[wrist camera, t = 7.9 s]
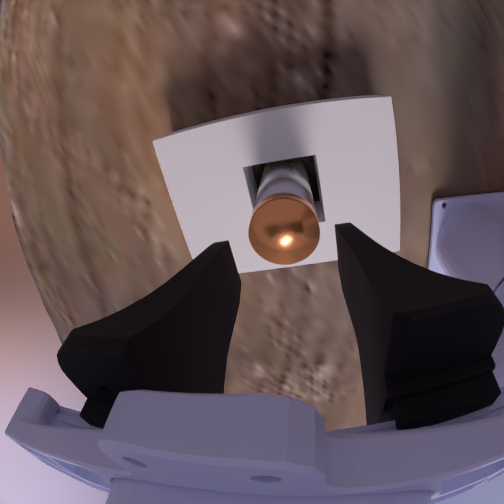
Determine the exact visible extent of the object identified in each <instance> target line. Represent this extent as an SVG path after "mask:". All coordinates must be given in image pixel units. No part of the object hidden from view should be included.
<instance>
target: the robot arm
mask: <svg viewBox="0 0 504 504" xmlns="http://www.w3.org/2000/svg"><path fill="white" fill-rule="evenodd" d="M444 202H445V205H444V206H443V207H442V204H443V203H444ZM335 235H336V245H337V256H338V269H339V274H340V280H341V285H342V291H343V294H344V297H345V300H346V304H347V307H348V310H349V314H350V317H351V320H352V324H353V327H354V330H355V334H356V338H357V343H358V348H359V355H360V362H361V369H362V377H363V385H364V395H365V406H366V420H367V425H366V426H360V427H353V428H346V429H338V430H329V431H325V424H324V418H323V417H322V415H321V414H320V413H319V412H318V410H317V409H316V408H315V407H314V406H313V405H311V404H309V403H306V402H304V401H301V400H298V399H295V398H292V397H290V396H286V395H272V394H260V393H250V394H223V393H224V381H225V371H226V362H227V355H228V350H229V345H230V341H231V337H232V333H233V328H234V324H235V320H236V316H237V312H238V307H239V303H240V292H241V280H240V277H239V273H238V270H237V267H236V263H235V260H234V257H233V253H232V250H231V247H230V243H229V240H227V241H221V242H215V243H213V244H211V245H210V246H208V247H207V248H206V249H205V250H204V251H202V252H201V253H200V254H199V255H198V256H197V257H196V258H195V259H193V260H192V261H191V262H190V263H189V264H188V265H187V266H185V267H184V268H183V269H182V270H181V271H179V272H178V273H177V274H176V275H174V276H173V277H172V278H171V279H170V280H168V281H167V282H166V283H164V284H163V285H162V286H160V287H159V288H157V289H156V290H155V291H153V292H152V293H150V294H149V295H147V296H145V297H144V298H142V299H140V300H138V301H137V302H135V303H133V304H131V305H130V306H128V307H126V308H124V309H122V310H120V311H118V312H116V313H114V314H112V315H110V316H107V317H105V318H103V319H100V320H98V321H95V322H92V323H90V324H87V325H84V326H81V327H78V328H75V329H73V330H72V331H71V332H70V334H69V335H68V337H67V338H66V340H65V341H64V343H63V344H62V346H61V348H60V349H59V351H58V353H57V358H58V363H59V365H60V367H61V369H62V370H63V372H64V373H65V374H66V376H67V377H68V378H69V379H70V380H71V381H72V382H73V384H74V385H75V386H76V387H77V388H78V389H79V390H80V391H81V392H82V393H83V394H84V395H85V396H86V397H87V400H86V402H85V405H84V407H83V409H82V411H81V412H79V411H76V410H72V409H69V408H65V407H62V406H59V404H58V403H57V402H56V401H55V400H54V399H53V398H52V397H51V396H50V395H48V394H47V393H45V392H43V391H40V390H37V389H34V388H28V390H27V392H26V393H25V395H24V397H23V399H22V400H21V402H20V404H19V406H18V408H17V410H16V411H15V413H14V415H13V417H12V419H11V421H10V423H9V424H8V427H7V428H6V431H5V433H6V435H8V436H9V437H10V438H11V439H12V440H14V441H15V442H16V443H17V444H19V445H20V446H21V447H23V448H24V449H25V450H27V451H28V452H29V453H31V454H32V455H34V456H35V457H36V458H38V459H39V460H41V461H42V462H44V463H45V464H47V465H49V466H51V467H53V468H54V469H56V470H58V471H60V472H62V473H64V474H66V475H68V476H70V477H72V478H74V479H77V480H79V481H80V482H83V483H85V484H87V485H89V486H92V487H94V488H96V489H98V490H101V491H103V492H106V493H108V494H109V495H108V499H107V501H106V504H436V503H439V502H442V501H445V500H447V499H450V498H453V497H455V496H458V495H460V494H462V493H465V492H467V491H469V490H471V489H474V488H476V487H478V486H480V485H482V484H485V483H487V482H489V481H491V480H493V479H495V478H497V477H499V476H500V475H502V474H504V192H495V193H485V194H475V195H465V196H456V197H446V198H438V199H435V200H434V201H433V204H432V222H431V237H430V249H429V259H428V267H427V269H426V268H424V267H421V266H419V265H416V264H414V263H412V262H410V261H408V260H406V259H404V258H402V257H400V256H398V255H396V254H394V253H393V252H391V251H390V250H388V249H386V248H385V247H383V246H382V245H380V244H379V243H377V242H376V241H374V240H373V239H371V238H370V237H369V236H367V235H366V234H365V233H363V232H362V231H361V230H360V229H358V228H357V227H356V226H354V225H353V224H352V223H350V222H349V223H342V224H335Z"/></svg>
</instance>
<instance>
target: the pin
mask: <svg viewBox="0 0 504 504" xmlns="http://www.w3.org/2000/svg"><path fill="white" fill-rule="evenodd" d="M248 236H249V241H250V244H251V246H252V248H253V249H254V251H255V252H256V253H257V254H258V255H259V256H260V257H262V258H263V259H265V260H267V261H269V262H271V263H275V264H280V265H289V264H295V263H298V262H300V261H302V260H304V259H306V258H307V257H308V256H310V255H311V254H312V253H313V251H314V250H315V249H316V247H317V245H318V242H319V239H320V228H319V223H318V218H317V214H316V209H315V205H314V200H313V196H312V192H311V188H310V183H309V179H308V175H307V171H306V167H305V165H304V163H303V162H302V161H301V160H300V159H299V158H292V159H285V160H280V161H274V162H268V163H266V165H265V167H264V170H263V174H262V178H261V182H260V186H259V190H258V194H257V197H256V201H255V205H254V209H253V213H252V217H251V221H250V225H249V230H248Z"/></svg>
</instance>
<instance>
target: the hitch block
mask: <svg viewBox="0 0 504 504" xmlns="http://www.w3.org/2000/svg"><path fill="white" fill-rule="evenodd" d="M153 145H154V148H155V151H156V154H157V157H158V161H159V164H160V167H161V170H162V173H163V176H164V179H165V182H166V185H167V188H168V191H169V194H170V197H171V200H172V203H173V206H174V209H175V212H176V215H177V217H178V220H179V223H180V226H181V229H182V232H183V234H184V237H185V240H186V243H187V245H188V248H189V251H190V253H191V256H192V259H195V258H196V257H197V256H198V255H199V254H200V253H201V252H202V251H204V250H205V249H206V248H207V247H208V246H210V245H211V244H213V243H215V242H221V241H227V240H229V243H230V247H231V250H232V253H233V257H234V260H235V263H236V267H237V270H238V273H245V272H253V271H261V270H268V269H276V268H283V267H291V266H298V265H306V264H313V263H320V262H327V261H334V260H338V256H337V245H336V235H335V224H342V223H349V222H350V223H352V224H353V225H354V226H356V227H357V228H358V229H360V230H361V231H362V232H363V233H365V234H366V235H367V236H369V237H370V238H371V239H373V240H374V241H376V242H377V243H379V244H380V245H382V246H383V247H385V248H386V249H388V250H390V251H391V252H395V251H400V183H399V164H398V151H397V139H396V130H395V121H394V113H393V106H392V99H391V97H390V96H381V95H363V96H351V97H341V98H332V99H324V100H316V101H309V102H302V103H295V104H289V105H283V106H278V107H272V108H267V109H262V110H257V111H252V112H247V113H243V114H238V115H234V116H229V117H225V118H221V119H217V120H213V121H209V122H206V123H202V124H198V125H195V126H191V127H188V128H184V129H181V130H177V131H174V132H171V133H169V134H167V135H165V136H162V137H160V138H158V139H156V140H154V141H153ZM311 155H313V161H314V167H315V173H316V179H317V185H318V192H319V199H320V201H314V205H315V209H316V214H317V218H318V223H319V228H320V239H319V242H318V245H317V247H316V249H315V250H314V251H313V253H312V254H311V255H310V256H308V257H307V258H306V259H304V260H302V261H300V262H298V263H295V264H289V265H280V264H275V263H271V262H269V261H267V260H265V259H263V258H262V257H260V256H259V255H258V254H257V253H256V252H255V251H254V249H253V248H252V246H251V244H250V241H249V236H248V230H249V225H250V221H251V217H252V213H253V209H254V205H255V201H256V197H257V194H258V188H257V184H256V180H255V175H254V171H253V167H252V165H257V164H263V163H268V162H274V161H280V160H285V159H292V158H298V157H304V156H311Z"/></svg>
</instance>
